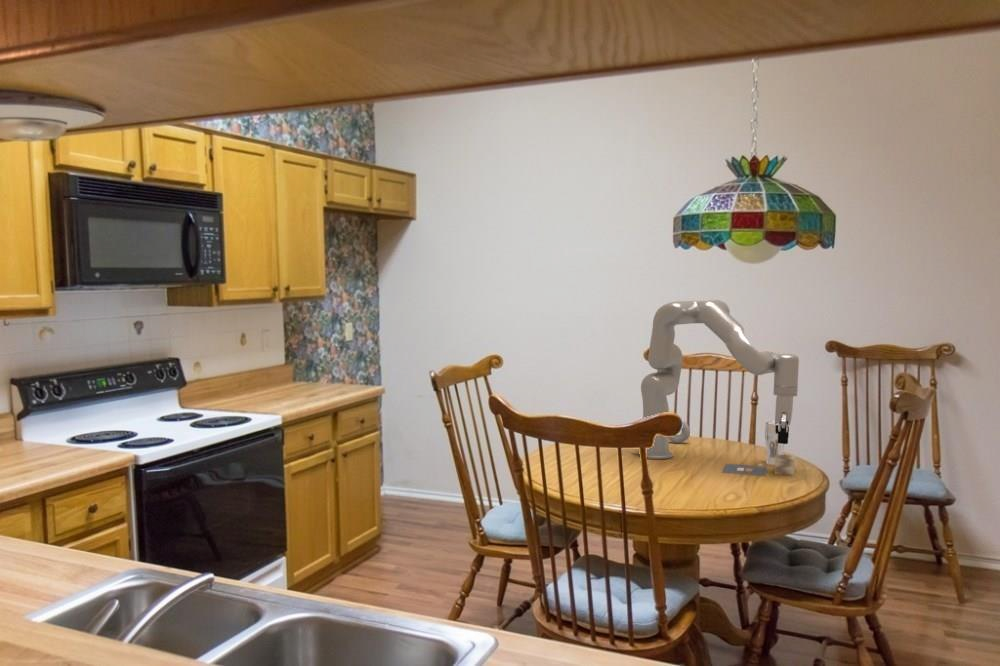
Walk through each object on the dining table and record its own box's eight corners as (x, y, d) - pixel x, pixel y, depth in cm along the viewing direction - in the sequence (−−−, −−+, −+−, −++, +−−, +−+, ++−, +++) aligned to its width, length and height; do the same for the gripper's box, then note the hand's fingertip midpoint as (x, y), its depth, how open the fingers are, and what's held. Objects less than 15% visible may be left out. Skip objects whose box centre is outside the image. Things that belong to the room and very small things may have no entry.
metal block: (774, 475, 252) (775, 458, 252) (775, 471, 258) (775, 454, 257) (794, 477, 250) (794, 459, 250) (794, 473, 255) (794, 455, 255)
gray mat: (721, 474, 255) (721, 472, 255) (725, 464, 268) (725, 463, 268) (765, 477, 250) (765, 476, 250) (767, 468, 262) (767, 466, 262)
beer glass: (782, 462, 270) (782, 421, 269) (787, 467, 263) (788, 425, 262) (762, 462, 271) (762, 421, 270) (767, 466, 264) (767, 424, 263)
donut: (664, 443, 306) (664, 419, 305) (665, 441, 309) (665, 417, 308) (689, 444, 302) (689, 420, 302) (690, 443, 305) (690, 418, 305)
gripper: (774, 386, 262) (772, 434, 263) (772, 393, 246) (770, 444, 247) (797, 387, 259) (795, 436, 260) (797, 395, 243) (794, 447, 244)
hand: (783, 440), depth 253 cm, fingers open, 9 cm apart
